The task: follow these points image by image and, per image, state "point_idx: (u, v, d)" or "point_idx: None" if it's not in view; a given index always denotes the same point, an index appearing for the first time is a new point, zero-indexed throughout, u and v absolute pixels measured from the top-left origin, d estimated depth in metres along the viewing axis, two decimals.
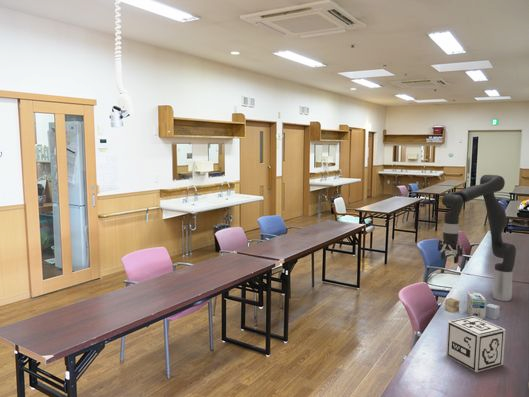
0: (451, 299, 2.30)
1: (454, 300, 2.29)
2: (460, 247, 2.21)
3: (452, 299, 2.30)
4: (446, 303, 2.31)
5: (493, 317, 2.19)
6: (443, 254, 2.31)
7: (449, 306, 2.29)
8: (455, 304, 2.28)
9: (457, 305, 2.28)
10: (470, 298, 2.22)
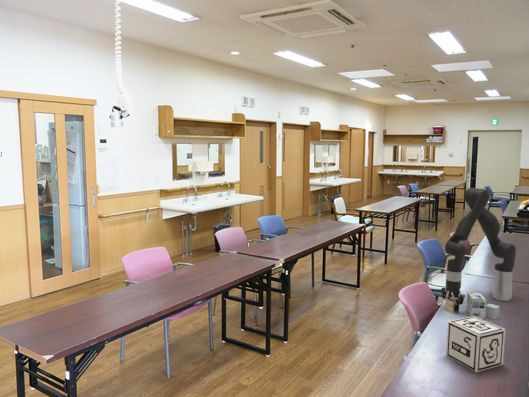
0: (451, 299, 2.30)
1: None
2: (462, 297, 2.23)
3: (452, 299, 2.30)
4: (446, 303, 2.31)
5: (493, 317, 2.19)
6: None
7: (449, 306, 2.29)
8: None
9: None
10: (470, 298, 2.22)
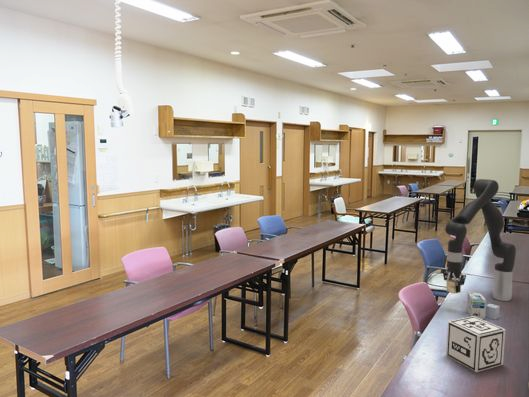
0: (452, 280, 2.29)
1: None
2: (463, 278, 2.22)
3: (453, 280, 2.29)
4: (447, 284, 2.29)
5: (493, 317, 2.19)
6: None
7: (451, 287, 2.27)
8: None
9: None
10: (470, 298, 2.22)
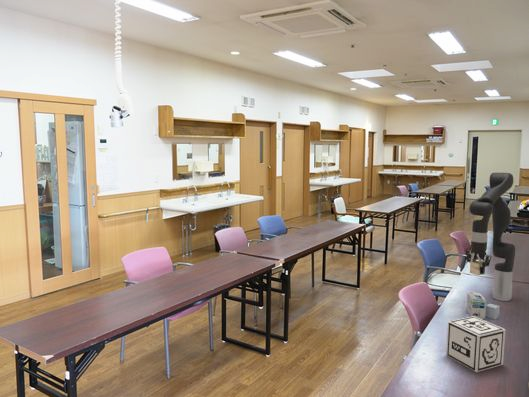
0: (476, 262, 2.22)
1: None
2: (489, 258, 2.15)
3: (477, 262, 2.22)
4: (471, 266, 2.22)
5: (493, 317, 2.19)
6: None
7: (475, 269, 2.20)
8: None
9: None
10: (470, 298, 2.22)
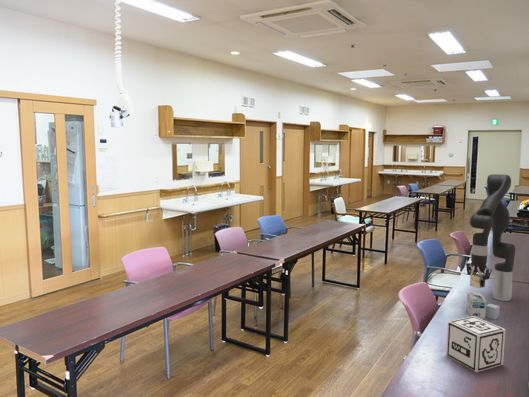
0: (476, 274, 2.22)
1: None
2: (489, 272, 2.15)
3: (477, 274, 2.22)
4: (471, 279, 2.22)
5: (493, 317, 2.19)
6: None
7: (475, 281, 2.20)
8: None
9: None
10: (470, 298, 2.22)
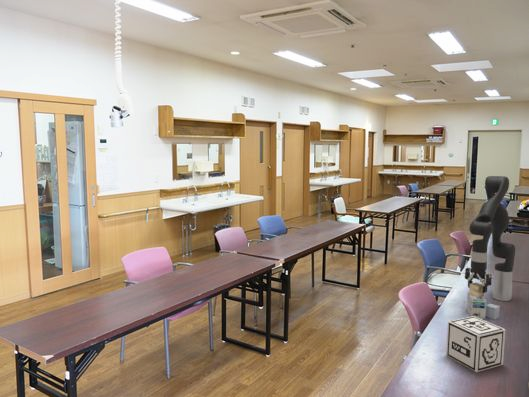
0: (476, 284, 2.23)
1: (479, 284, 2.21)
2: (489, 277, 2.15)
3: (477, 284, 2.23)
4: (470, 288, 2.23)
5: (493, 317, 2.19)
6: (470, 282, 2.25)
7: (474, 291, 2.21)
8: (480, 289, 2.20)
9: None
10: (470, 298, 2.22)
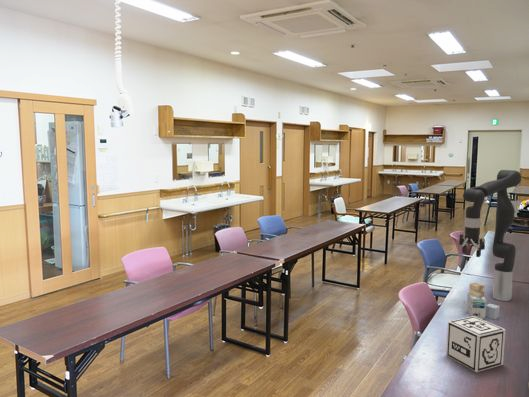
0: (476, 284, 2.23)
1: (479, 284, 2.21)
2: (482, 241, 2.25)
3: (477, 284, 2.23)
4: (470, 288, 2.23)
5: (493, 317, 2.19)
6: (464, 248, 2.35)
7: (474, 291, 2.21)
8: (480, 289, 2.20)
9: (482, 290, 2.21)
10: (470, 298, 2.22)
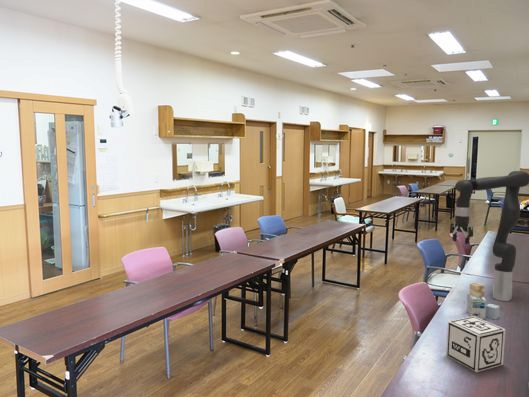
0: (476, 284, 2.23)
1: (479, 285, 2.21)
2: (471, 229, 2.40)
3: (477, 284, 2.23)
4: (471, 288, 2.23)
5: (493, 317, 2.19)
6: (455, 236, 2.51)
7: (474, 291, 2.21)
8: (480, 289, 2.20)
9: (482, 290, 2.21)
10: (470, 298, 2.22)
